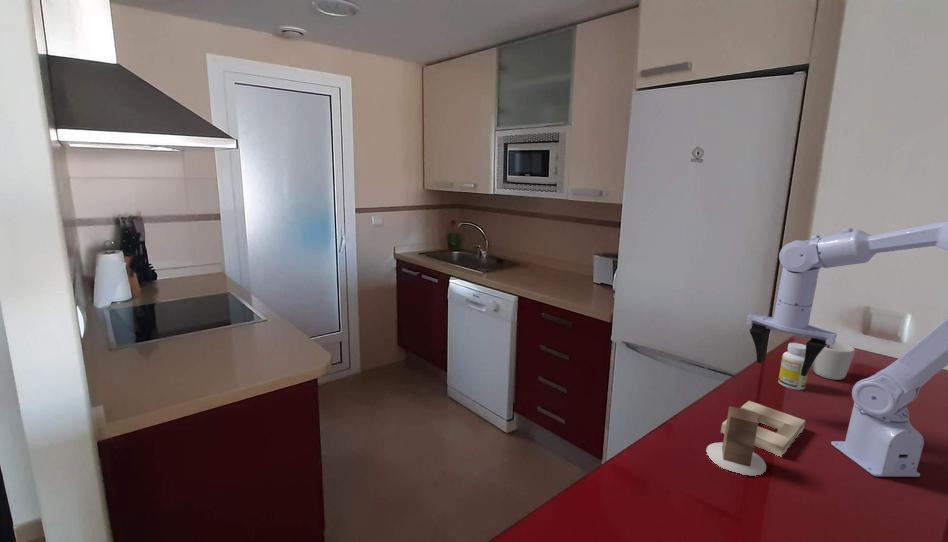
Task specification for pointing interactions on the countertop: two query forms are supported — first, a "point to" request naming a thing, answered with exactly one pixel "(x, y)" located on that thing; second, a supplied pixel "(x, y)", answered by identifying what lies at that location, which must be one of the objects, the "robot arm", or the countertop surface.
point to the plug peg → (739, 436)
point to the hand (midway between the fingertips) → (781, 367)
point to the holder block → (778, 420)
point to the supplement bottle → (793, 367)
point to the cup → (833, 361)
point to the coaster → (717, 457)
